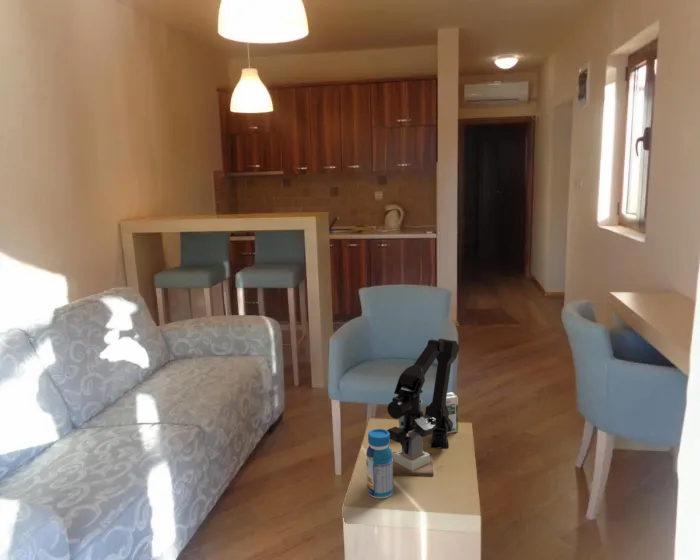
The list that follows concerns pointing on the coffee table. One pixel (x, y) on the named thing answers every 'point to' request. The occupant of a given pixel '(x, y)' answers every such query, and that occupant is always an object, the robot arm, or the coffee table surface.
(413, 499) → the coffee table surface
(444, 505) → the coffee table surface
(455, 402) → the syrup box
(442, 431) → the robot arm
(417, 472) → the walnut board
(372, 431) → the beverage bottle
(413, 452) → the banded block
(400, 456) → the holder collar
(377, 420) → the coffee table surface
